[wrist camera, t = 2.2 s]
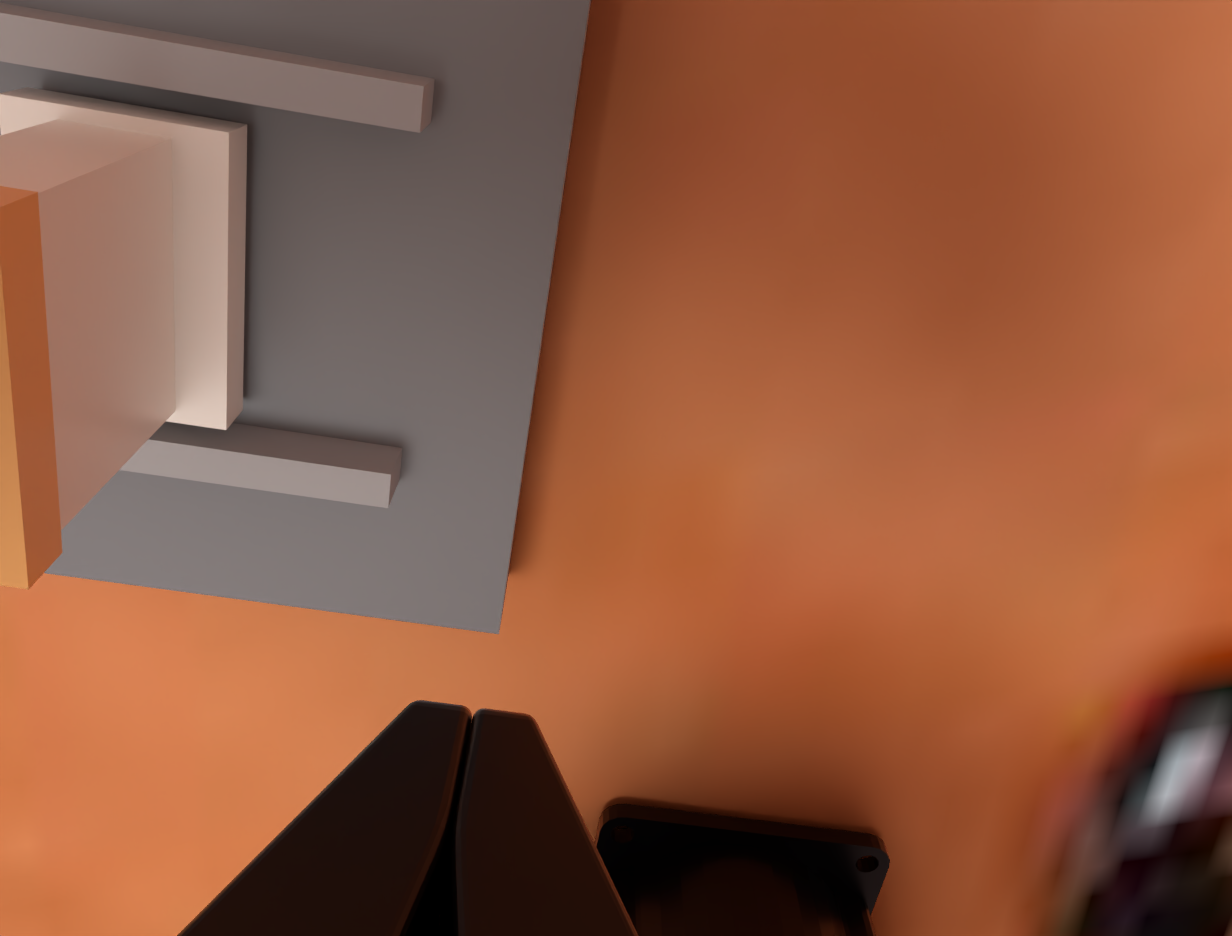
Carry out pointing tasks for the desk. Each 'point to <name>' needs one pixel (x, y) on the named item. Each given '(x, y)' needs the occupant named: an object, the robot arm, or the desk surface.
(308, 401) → the console board
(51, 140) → the fader tab
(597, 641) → the desk surface
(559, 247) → the desk surface
